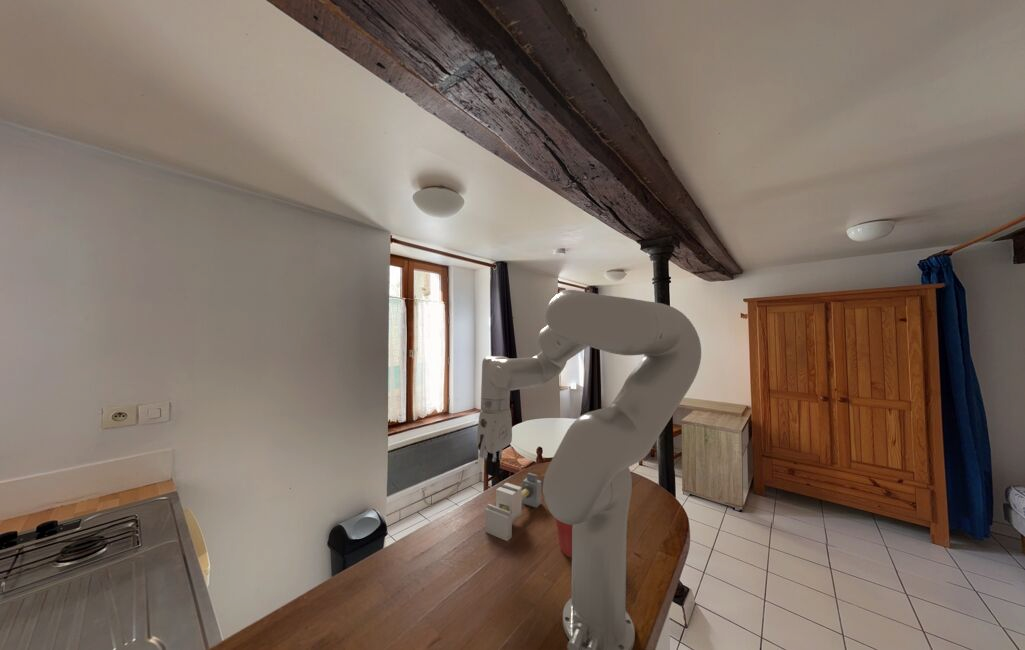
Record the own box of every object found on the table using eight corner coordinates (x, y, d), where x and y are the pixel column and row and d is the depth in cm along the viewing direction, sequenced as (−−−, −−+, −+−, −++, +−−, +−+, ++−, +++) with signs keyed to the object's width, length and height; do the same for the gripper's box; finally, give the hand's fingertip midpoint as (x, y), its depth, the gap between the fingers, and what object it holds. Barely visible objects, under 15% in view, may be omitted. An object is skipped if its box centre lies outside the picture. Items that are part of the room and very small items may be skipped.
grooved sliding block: (511, 523, 84) (512, 494, 84) (495, 517, 87) (496, 488, 87) (521, 514, 88) (521, 486, 89) (505, 509, 91) (506, 481, 91)
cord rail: (507, 541, 81) (508, 505, 81) (485, 531, 84) (486, 497, 85) (543, 504, 98) (544, 475, 99) (524, 498, 102) (524, 469, 102)
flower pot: (547, 554, 76) (547, 513, 76) (562, 530, 86) (562, 493, 86) (591, 570, 71) (591, 526, 71) (601, 542, 81) (602, 504, 81)
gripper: (490, 412, 74) (487, 491, 74) (522, 401, 87) (519, 468, 87) (465, 407, 78) (462, 481, 78) (499, 397, 91) (497, 461, 90)
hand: (492, 474), depth 82 cm, fingers closed
